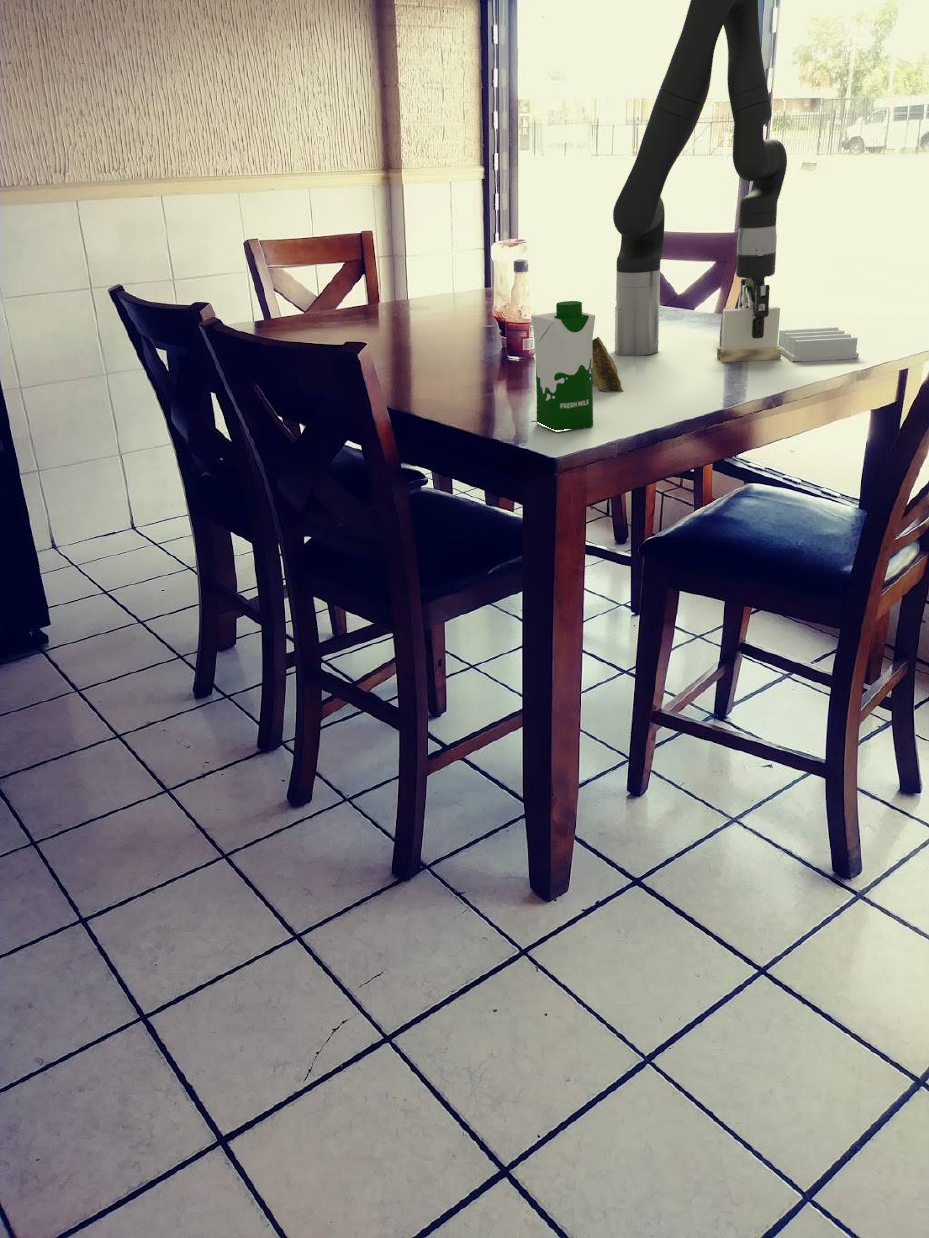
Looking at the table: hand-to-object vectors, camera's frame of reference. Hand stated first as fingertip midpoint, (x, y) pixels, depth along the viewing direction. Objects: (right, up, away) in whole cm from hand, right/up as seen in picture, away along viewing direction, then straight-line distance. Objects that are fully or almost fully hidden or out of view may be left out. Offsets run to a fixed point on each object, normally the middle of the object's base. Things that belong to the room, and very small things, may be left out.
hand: (752, 334), depth 201 cm
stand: (0, -4, +2) cm, 5 cm away
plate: (0, -4, +2) cm, 5 cm away
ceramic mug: (+2, +3, +19) cm, 19 cm away
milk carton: (-43, -26, -38) cm, 63 cm away
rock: (-32, -14, -13) cm, 38 cm away
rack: (+14, -3, +2) cm, 14 cm away
